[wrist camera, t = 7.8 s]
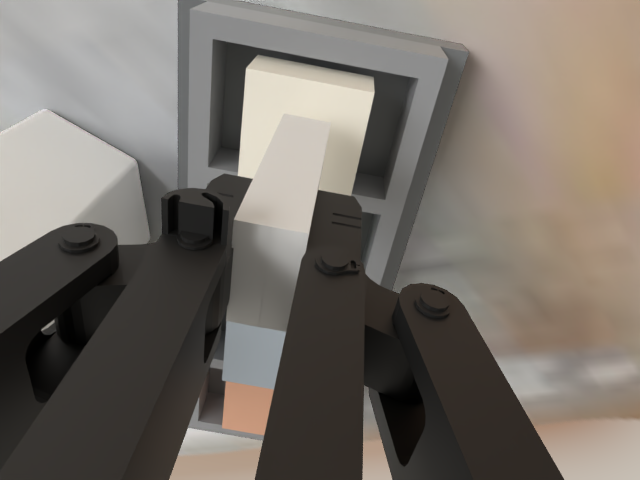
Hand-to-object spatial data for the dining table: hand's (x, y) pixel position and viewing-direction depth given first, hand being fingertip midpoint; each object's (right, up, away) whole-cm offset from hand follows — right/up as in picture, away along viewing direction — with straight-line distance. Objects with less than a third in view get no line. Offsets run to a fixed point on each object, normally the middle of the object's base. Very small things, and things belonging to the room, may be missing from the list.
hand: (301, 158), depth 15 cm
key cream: (0, +2, +3) cm, 3 cm away
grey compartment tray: (-1, -3, +10) cm, 10 cm away
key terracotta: (-3, -11, +13) cm, 17 cm away
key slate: (-2, -7, +9) cm, 11 cm away
